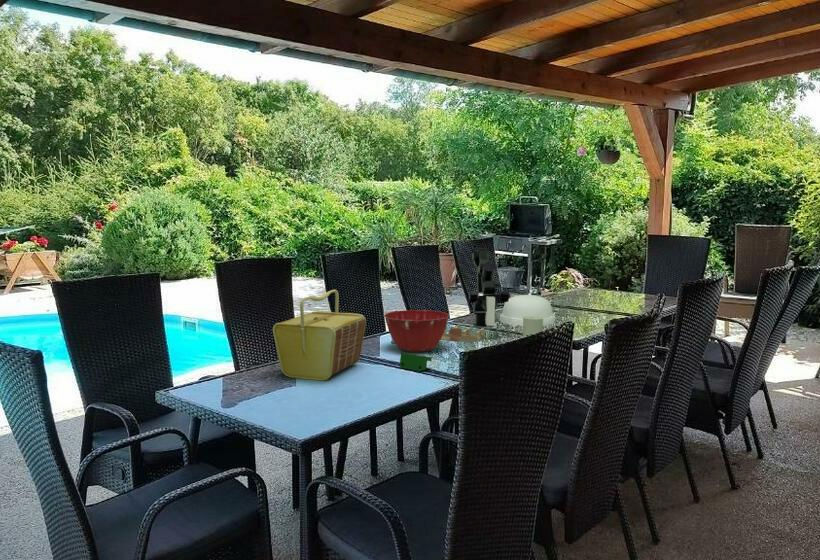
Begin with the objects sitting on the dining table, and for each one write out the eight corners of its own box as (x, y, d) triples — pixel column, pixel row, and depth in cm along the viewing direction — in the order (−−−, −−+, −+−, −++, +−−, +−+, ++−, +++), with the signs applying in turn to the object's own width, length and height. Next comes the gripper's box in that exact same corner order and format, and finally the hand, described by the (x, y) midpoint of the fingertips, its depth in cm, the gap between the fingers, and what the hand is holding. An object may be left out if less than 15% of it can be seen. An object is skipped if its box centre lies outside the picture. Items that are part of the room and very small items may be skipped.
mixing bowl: (392, 340, 293) (392, 308, 291) (453, 343, 287) (453, 309, 285) (377, 355, 265) (376, 319, 263) (444, 357, 259) (444, 321, 257)
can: (520, 343, 285) (520, 317, 284) (524, 339, 294) (525, 314, 292) (540, 345, 282) (541, 318, 280) (544, 340, 290) (545, 315, 289)
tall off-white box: (485, 323, 297) (486, 296, 295) (493, 323, 297) (493, 296, 295) (486, 325, 292) (487, 298, 290) (494, 325, 292) (495, 298, 290)
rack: (444, 334, 306) (444, 322, 306) (484, 337, 298) (484, 325, 298) (435, 339, 294) (435, 327, 294) (476, 343, 287) (476, 330, 286)
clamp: (425, 380, 242) (436, 359, 241) (417, 379, 238) (427, 359, 236) (404, 363, 249) (414, 344, 248) (395, 363, 244) (406, 343, 243)
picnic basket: (334, 384, 222) (332, 300, 219) (271, 377, 231) (269, 297, 228) (368, 364, 249) (367, 289, 246) (311, 359, 258) (309, 287, 255)
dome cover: (522, 314, 362) (523, 290, 361) (567, 321, 340) (568, 295, 339) (487, 321, 340) (487, 296, 339) (532, 329, 319) (532, 302, 317)
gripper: (469, 274, 296) (471, 301, 286) (509, 274, 296) (512, 300, 286) (468, 288, 304) (470, 315, 295) (506, 288, 304) (509, 314, 295)
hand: (490, 311), depth 292 cm, fingers closed on tall off-white box, 4 cm apart
